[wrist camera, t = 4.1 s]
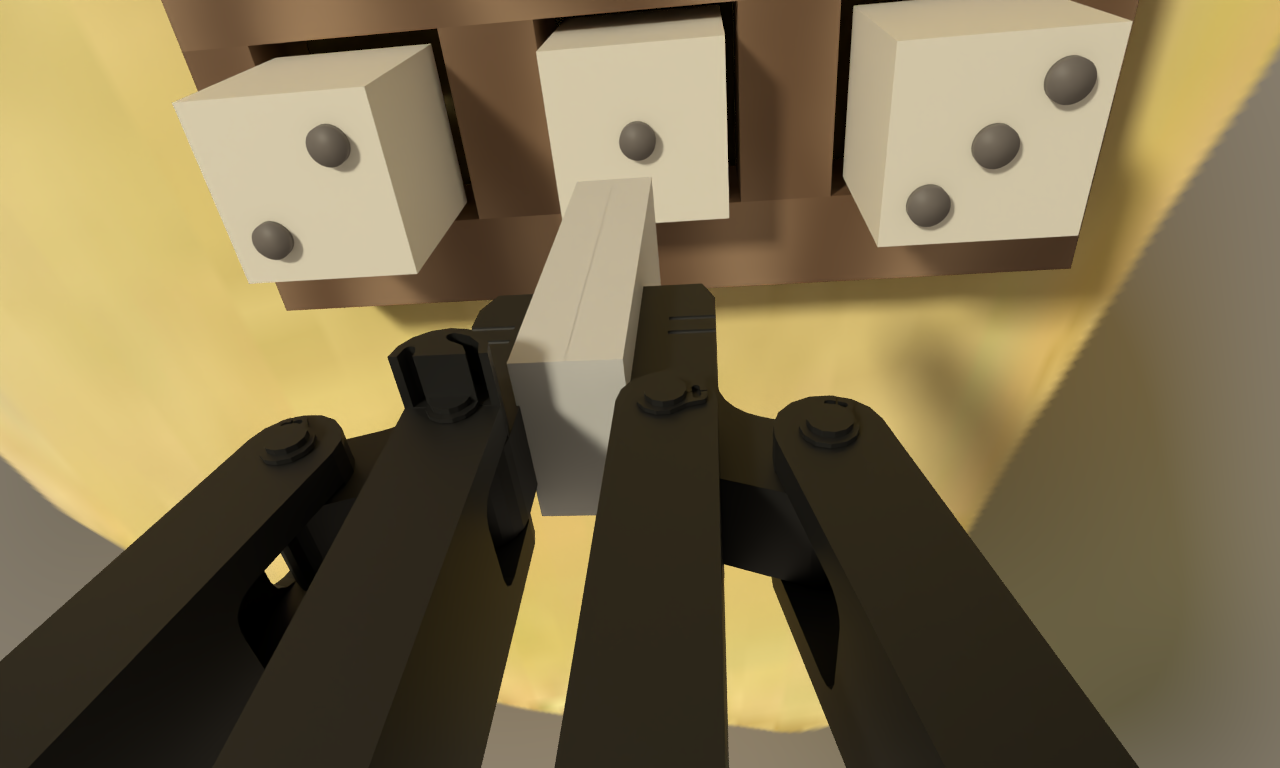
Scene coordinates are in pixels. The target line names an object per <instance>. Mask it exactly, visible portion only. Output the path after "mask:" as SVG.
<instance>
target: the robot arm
mask: <svg viewBox="0 0 1280 768" xmlns="http://www.w3.org/2000/svg"><path fill="white" fill-rule="evenodd" d="M388 360H389V363H390V366H391V369H392V372H393V375H394V378H395V381H396V384H397V387H398V389H399V392H400V395H401V398H402V401H403V404H404V407H405V409H404V411H403V413H402V415H401V417H400V419H399V421H398V422H397V424H396V426H395V427H393V428H390V429H387V430H384V431H380V432H375V433H371V434H367V435H363V436H359V437H354V438H350V439H346V437H345V435H344V433H343V430H342V428H341V427H340V426H339V424H338V423H337V422H336V421H335V420H334V419H331V418H328V417H325V416H322V415H311V416H300V417H294V418H289V419H286V420H282V421H280V422H279V423H277V424H274V425H272V426H270V427H268V428H265V429H264V430H262V431H261V432H259V433H258V434H257V435H255V436H254V437H252V438H251V439H249V440H248V441H247V442H246V443H245V444H244V445H243V446H241V447H240V448H239V449H238V450H237V451H236V452H235V453H234V454H232V455H231V456H230V457H229V458H228V459H227V460H226V461H225V462H223V463H222V464H221V465H220V466H219V467H218V468H217V469H216V470H215V471H213V472H212V473H211V474H210V475H209V476H208V477H207V478H206V479H204V480H203V481H202V482H201V483H200V484H199V485H198V486H197V487H195V488H194V489H193V490H192V491H191V492H190V493H189V494H188V495H186V496H185V497H184V498H183V499H182V500H181V501H180V502H179V503H177V504H176V505H175V506H174V507H173V508H172V509H171V510H170V511H168V512H167V513H166V514H165V515H164V516H163V517H162V518H161V519H159V520H158V521H157V522H156V523H155V524H154V525H153V526H152V527H150V528H149V529H148V530H147V531H146V532H145V533H144V534H143V535H141V536H140V537H139V538H138V539H137V540H136V541H135V542H134V543H133V544H131V545H130V546H129V547H128V548H127V549H126V550H125V551H124V552H122V553H121V554H120V555H119V556H118V557H117V558H116V559H115V560H113V561H112V562H111V563H110V564H109V565H108V566H107V567H106V568H104V569H103V570H102V571H101V572H100V573H99V574H98V575H97V576H96V577H94V578H93V579H92V580H91V581H90V582H89V583H88V584H86V585H85V586H84V587H83V588H82V589H81V590H80V591H79V592H77V593H76V594H75V595H74V596H73V597H72V598H71V599H70V600H68V602H66V603H65V604H64V605H63V606H62V607H61V608H60V609H59V610H57V611H56V612H55V613H54V614H53V615H52V616H51V617H49V618H48V619H47V620H46V621H45V622H44V623H43V624H42V625H41V626H39V627H38V628H37V629H36V630H35V631H34V632H33V633H31V634H30V635H29V636H28V637H27V638H26V639H25V640H24V641H23V642H21V643H20V644H19V645H18V646H17V647H16V648H15V649H14V650H12V651H11V652H10V653H9V654H8V655H7V656H6V657H5V658H3V659H2V660H1V661H0V768H481V765H482V761H483V757H484V753H485V749H486V744H487V740H488V736H489V732H490V728H491V724H492V720H493V715H494V711H495V707H496V703H497V699H498V695H499V691H500V686H501V682H502V678H503V674H504V670H505V666H506V662H507V657H508V653H509V649H510V645H511V641H512V637H513V632H514V628H515V624H516V620H517V616H518V612H519V608H520V603H521V599H522V595H523V591H524V587H525V583H526V578H527V574H528V570H529V566H530V562H531V558H532V554H533V549H534V545H535V530H534V526H533V522H532V518H531V514H530V512H531V508H532V504H533V501H534V497H535V493H536V492H537V496H538V500H539V505H540V509H541V513H542V516H577V515H596V521H595V527H594V533H593V539H592V545H591V551H590V557H589V563H588V569H587V575H586V581H585V587H584V593H583V599H582V605H581V611H580V617H579V623H578V629H577V635H576V641H575V647H574V654H573V660H572V666H571V672H570V678H569V684H568V690H567V696H566V702H565V708H564V714H563V720H562V726H561V732H560V738H559V744H558V750H557V756H556V762H555V768H729V757H728V756H729V753H728V714H727V676H726V638H725V600H724V564H725V565H729V566H733V567H737V568H740V569H744V570H748V571H751V572H755V573H759V574H763V575H766V576H770V577H772V583H773V588H774V590H775V593H776V595H777V598H778V600H779V603H780V605H781V607H782V610H783V612H784V615H785V617H786V620H787V622H788V625H789V627H790V630H791V632H792V635H793V637H794V640H795V642H796V645H797V647H798V650H799V652H800V654H801V657H802V659H803V662H804V664H805V667H806V669H807V672H808V674H809V677H810V679H811V682H812V684H813V687H814V689H815V692H816V694H817V697H818V699H819V702H820V704H821V706H822V709H823V711H824V714H825V716H826V719H827V721H828V724H829V726H830V729H831V731H832V734H833V736H834V738H835V741H836V744H837V746H838V748H839V751H840V753H841V756H842V758H843V761H844V763H845V766H846V768H1139V767H1138V766H1137V764H1136V763H1135V761H1134V760H1133V759H1132V757H1131V756H1130V755H1129V753H1128V752H1127V751H1126V749H1125V748H1124V747H1123V745H1122V744H1121V742H1120V741H1119V740H1118V738H1117V737H1116V736H1115V734H1114V733H1113V731H1112V730H1111V729H1110V727H1109V726H1108V725H1107V723H1106V722H1105V721H1104V719H1103V718H1102V717H1101V715H1100V714H1099V712H1098V711H1097V710H1096V708H1095V707H1094V706H1093V704H1092V703H1091V702H1090V700H1089V699H1088V697H1087V696H1086V695H1085V694H1084V692H1083V691H1082V689H1081V688H1080V687H1079V685H1078V684H1077V683H1076V681H1075V680H1074V678H1073V677H1072V676H1071V674H1070V673H1069V672H1068V670H1067V669H1066V668H1065V666H1064V665H1063V664H1062V662H1061V661H1060V659H1059V658H1058V657H1057V655H1056V654H1055V653H1054V651H1053V650H1052V649H1051V647H1050V646H1049V644H1048V643H1047V642H1046V640H1045V639H1044V638H1043V636H1042V635H1041V634H1040V632H1039V631H1038V629H1037V628H1036V627H1035V625H1034V624H1033V623H1032V621H1031V620H1030V619H1029V617H1028V616H1027V614H1026V613H1025V612H1024V610H1023V609H1022V608H1021V606H1020V605H1019V604H1018V602H1017V601H1016V599H1015V598H1014V597H1013V595H1012V594H1011V593H1010V591H1009V590H1008V589H1007V587H1006V586H1005V585H1004V583H1003V582H1002V580H1001V579H1000V578H999V576H998V575H997V574H996V572H995V571H994V570H993V568H992V567H991V565H990V564H989V563H988V561H987V560H986V559H985V557H984V556H983V555H982V553H981V552H980V551H979V549H978V548H977V546H976V545H975V544H974V542H973V541H972V540H971V538H970V537H969V536H968V534H967V533H966V531H965V530H964V529H963V527H962V526H961V525H960V523H959V522H958V521H957V519H956V518H955V516H954V515H953V514H952V512H951V511H950V510H949V508H948V507H947V506H946V504H945V503H944V502H943V500H942V499H941V497H940V496H939V495H938V493H937V492H936V491H935V489H934V488H933V487H932V485H931V484H930V482H929V481H928V480H927V478H926V477H925V476H924V474H923V473H922V472H921V470H920V469H919V468H918V466H917V465H916V463H915V462H914V461H913V459H912V458H911V457H910V455H909V454H908V453H907V451H906V450H905V448H904V447H903V446H902V444H901V443H900V442H899V440H898V439H897V438H896V436H895V435H894V433H893V432H892V431H891V429H890V428H889V427H888V425H887V424H886V423H885V421H884V420H883V419H882V418H881V417H880V416H879V415H878V414H877V413H876V412H875V411H873V410H872V409H871V408H870V407H868V406H866V405H864V404H861V403H859V402H857V401H855V400H852V399H848V398H842V397H836V396H814V397H807V398H804V399H801V400H798V401H795V402H792V403H790V404H789V405H788V406H786V407H785V408H784V409H782V410H781V411H780V412H779V413H778V415H777V417H776V419H770V418H765V417H760V416H756V415H753V414H749V413H746V412H744V411H742V410H740V409H738V408H735V407H734V406H732V405H731V404H730V403H729V402H727V401H726V400H725V399H724V397H723V396H722V395H721V393H720V392H719V388H718V367H717V341H716V315H715V297H714V296H713V295H712V294H711V293H710V292H709V291H708V290H707V288H706V287H705V286H704V285H703V284H702V283H700V284H680V285H661V281H660V269H659V257H658V245H657V234H656V222H655V210H654V198H653V186H652V177H641V178H626V179H610V180H595V181H580V182H577V183H576V186H575V189H574V191H573V194H572V196H571V199H570V201H569V204H568V207H567V209H566V212H565V214H564V217H563V220H562V222H561V225H560V227H559V230H558V232H557V235H556V238H555V240H554V243H553V245H552V248H551V250H550V253H549V256H548V258H547V261H546V263H545V266H544V269H543V271H542V274H541V276H540V279H539V281H538V284H537V287H536V289H535V292H534V294H523V295H503V296H498V297H497V298H495V299H494V300H493V301H492V302H490V303H489V304H488V305H487V306H486V307H484V308H483V309H482V310H481V311H480V312H479V314H478V316H477V318H476V320H475V322H474V324H473V326H472V330H469V329H456V328H449V329H442V330H436V331H431V332H428V333H425V334H422V335H419V336H416V337H413V338H411V339H410V340H408V341H406V342H404V343H403V344H401V345H399V346H398V347H397V348H396V349H395V350H394V351H393V352H392V353H391V354H390V355H389V356H388ZM280 553H281V555H282V556H283V558H284V560H285V562H286V564H287V566H288V568H289V570H290V571H289V572H288V573H287V574H286V576H285V577H284V578H282V579H281V580H280V581H278V582H277V583H276V584H272V583H271V582H270V580H269V578H268V577H267V575H266V573H265V569H266V568H267V567H268V566H269V565H270V564H271V563H272V562H273V561H274V559H275V558H276V557H277V556H278V555H279V554H280Z"/></svg>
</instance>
